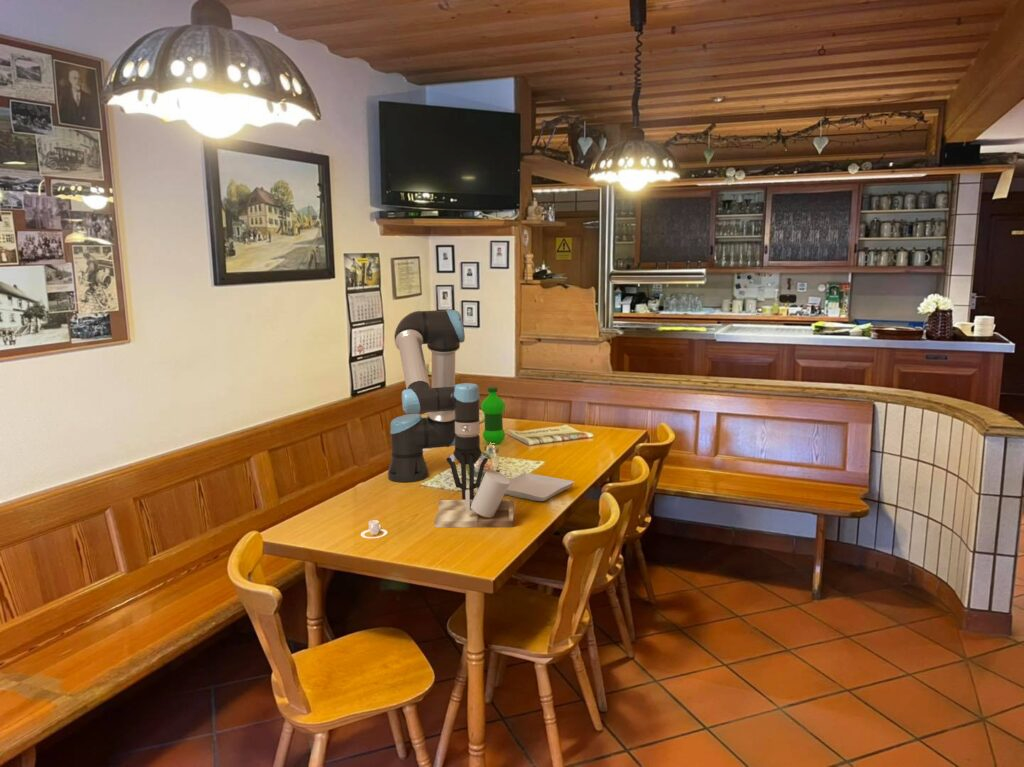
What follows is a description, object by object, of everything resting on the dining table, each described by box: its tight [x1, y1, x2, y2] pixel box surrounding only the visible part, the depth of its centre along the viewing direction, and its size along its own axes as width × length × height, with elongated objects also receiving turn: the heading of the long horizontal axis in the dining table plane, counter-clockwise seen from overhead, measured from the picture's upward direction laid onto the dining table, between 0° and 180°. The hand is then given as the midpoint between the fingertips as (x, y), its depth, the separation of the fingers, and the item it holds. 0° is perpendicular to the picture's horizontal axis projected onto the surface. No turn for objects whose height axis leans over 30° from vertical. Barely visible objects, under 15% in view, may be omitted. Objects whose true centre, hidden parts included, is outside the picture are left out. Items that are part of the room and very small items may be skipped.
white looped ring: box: [360, 519, 388, 540], centre depth 221 cm, size 9×8×4 cm
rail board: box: [433, 499, 516, 529], centre depth 229 cm, size 24×11×5 cm, turn 87°
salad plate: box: [504, 472, 575, 502], centre depth 257 cm, size 21×21×3 cm
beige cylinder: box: [470, 469, 510, 518], centre depth 227 cm, size 8×8×12 cm
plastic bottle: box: [480, 386, 506, 445], centre depth 326 cm, size 10×10×25 cm
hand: (468, 509), depth 228 cm, fingers closed
